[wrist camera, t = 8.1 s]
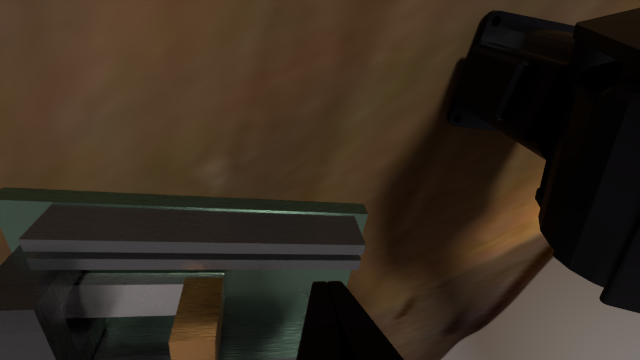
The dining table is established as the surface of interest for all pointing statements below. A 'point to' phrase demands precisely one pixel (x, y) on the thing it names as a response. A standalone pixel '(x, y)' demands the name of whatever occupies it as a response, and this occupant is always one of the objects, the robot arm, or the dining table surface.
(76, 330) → the green plate fixture
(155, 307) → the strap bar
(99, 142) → the dining table surface
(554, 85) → the robot arm
